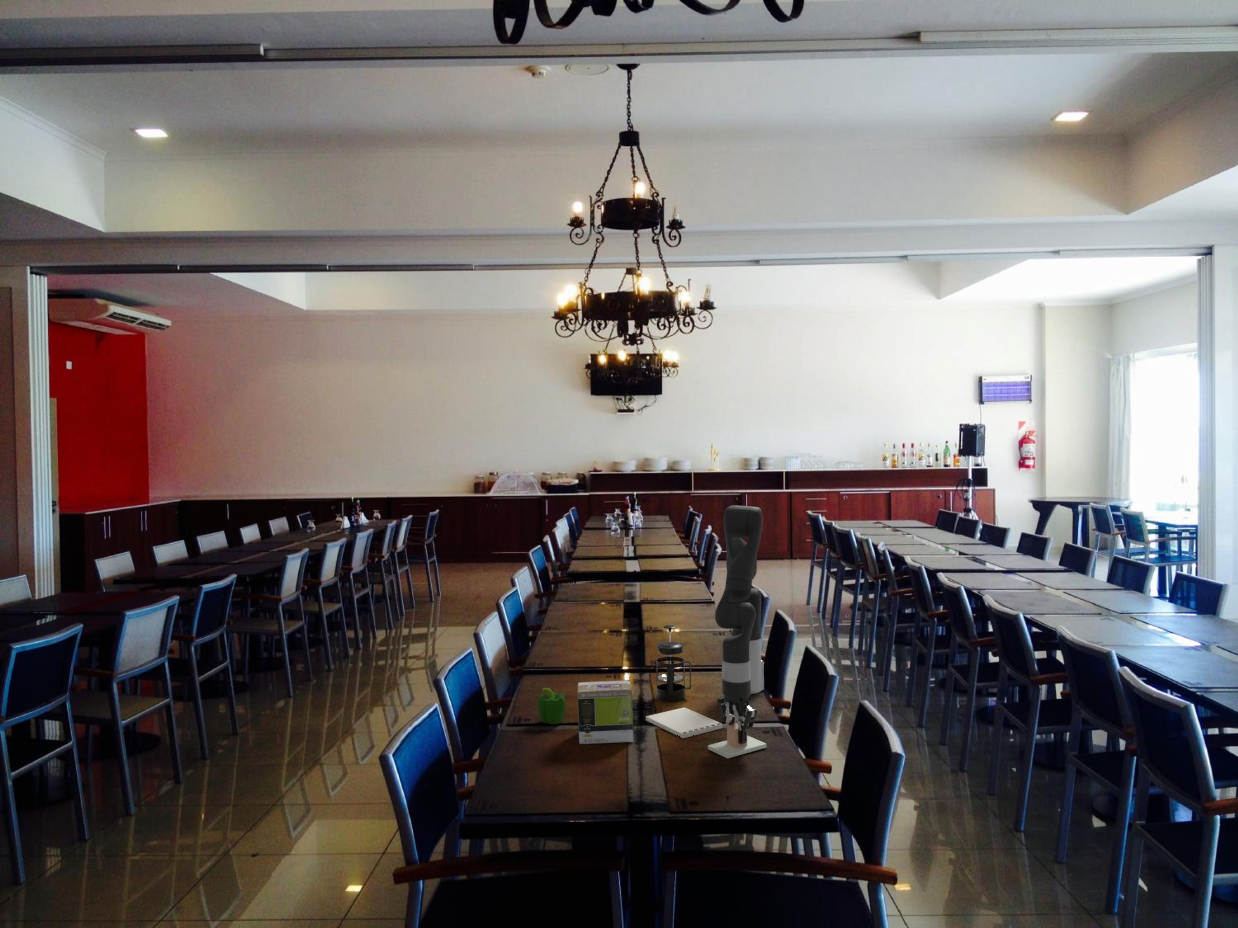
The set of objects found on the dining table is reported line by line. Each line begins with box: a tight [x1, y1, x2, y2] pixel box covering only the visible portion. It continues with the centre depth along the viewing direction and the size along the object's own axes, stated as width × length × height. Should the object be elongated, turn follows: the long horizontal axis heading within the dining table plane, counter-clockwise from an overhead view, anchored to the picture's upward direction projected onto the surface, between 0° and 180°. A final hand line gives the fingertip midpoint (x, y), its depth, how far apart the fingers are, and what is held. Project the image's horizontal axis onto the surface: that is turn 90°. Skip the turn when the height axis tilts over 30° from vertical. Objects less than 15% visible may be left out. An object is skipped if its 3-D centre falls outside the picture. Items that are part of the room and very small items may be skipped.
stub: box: [707, 722, 767, 759], centre depth 230 cm, size 8×13×6 cm, turn 122°
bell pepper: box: [536, 687, 567, 725], centre depth 254 cm, size 8×8×10 cm
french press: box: [655, 624, 692, 703], centre depth 274 cm, size 12×9×23 cm
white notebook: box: [645, 707, 724, 739], centre depth 250 cm, size 18×14×1 cm
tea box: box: [577, 679, 634, 745], centre depth 240 cm, size 15×10×15 cm
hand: (737, 740), depth 230 cm, fingers closed on stub, 3 cm apart
